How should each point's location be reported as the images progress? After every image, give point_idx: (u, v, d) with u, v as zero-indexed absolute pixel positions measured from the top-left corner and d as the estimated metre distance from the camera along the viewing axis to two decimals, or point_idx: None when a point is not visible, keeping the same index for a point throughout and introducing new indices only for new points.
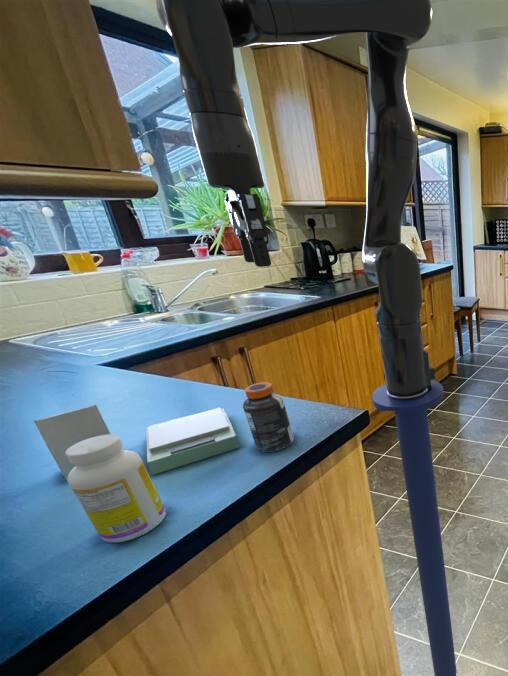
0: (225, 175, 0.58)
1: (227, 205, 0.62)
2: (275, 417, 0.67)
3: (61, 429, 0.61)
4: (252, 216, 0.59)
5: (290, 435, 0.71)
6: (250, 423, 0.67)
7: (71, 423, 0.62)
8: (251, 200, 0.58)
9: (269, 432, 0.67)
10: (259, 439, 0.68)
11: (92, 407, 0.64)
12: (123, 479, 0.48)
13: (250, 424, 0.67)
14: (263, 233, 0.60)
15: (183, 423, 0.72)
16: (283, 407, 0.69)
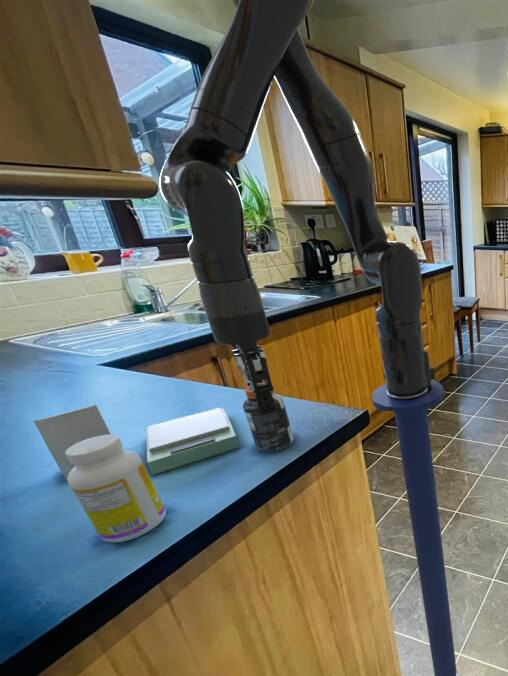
0: (231, 336, 0.59)
1: (233, 354, 0.64)
2: (275, 417, 0.67)
3: (61, 429, 0.61)
4: (258, 379, 0.61)
5: (290, 435, 0.71)
6: (250, 423, 0.67)
7: (71, 423, 0.62)
8: (258, 365, 0.60)
9: (269, 432, 0.67)
10: (259, 439, 0.68)
11: (92, 407, 0.64)
12: (123, 479, 0.48)
13: (250, 424, 0.67)
14: (268, 390, 0.62)
15: (183, 423, 0.72)
16: (283, 407, 0.69)
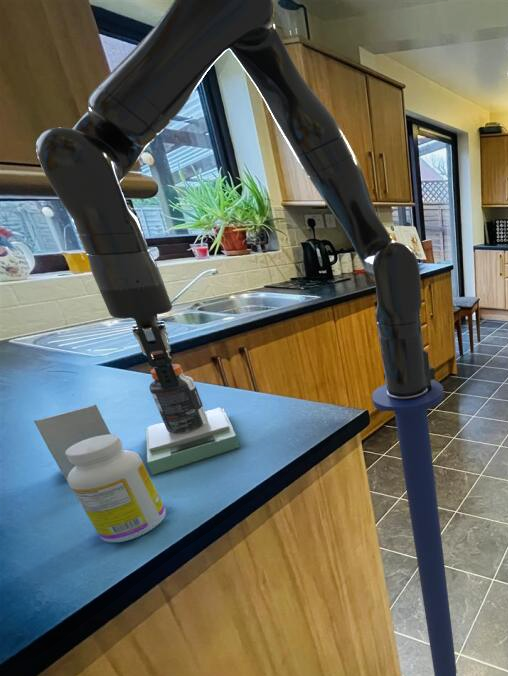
0: (124, 309, 0.59)
1: None
2: (183, 398, 0.68)
3: (61, 429, 0.61)
4: (152, 349, 0.60)
5: (202, 417, 0.71)
6: (157, 404, 0.67)
7: (71, 423, 0.62)
8: (150, 334, 0.59)
9: (177, 413, 0.68)
10: (167, 420, 0.68)
11: (92, 406, 0.64)
12: (123, 479, 0.48)
13: (157, 405, 0.67)
14: (165, 362, 0.61)
15: None
16: (193, 389, 0.69)
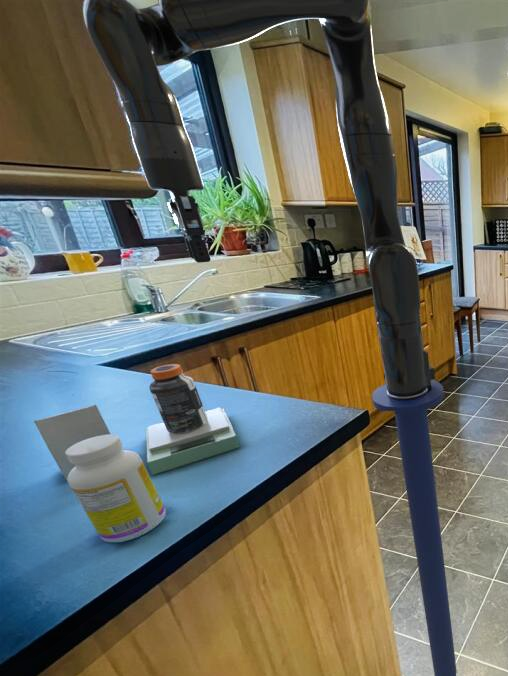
0: (162, 178, 0.64)
1: (169, 206, 0.68)
2: (183, 398, 0.68)
3: (61, 429, 0.61)
4: (188, 216, 0.64)
5: (202, 417, 0.71)
6: (157, 404, 0.67)
7: (71, 423, 0.62)
8: (186, 201, 0.64)
9: (177, 413, 0.68)
10: (167, 420, 0.68)
11: (92, 407, 0.64)
12: (123, 479, 0.48)
13: (157, 405, 0.67)
14: (199, 231, 0.66)
15: None
16: (193, 389, 0.69)
